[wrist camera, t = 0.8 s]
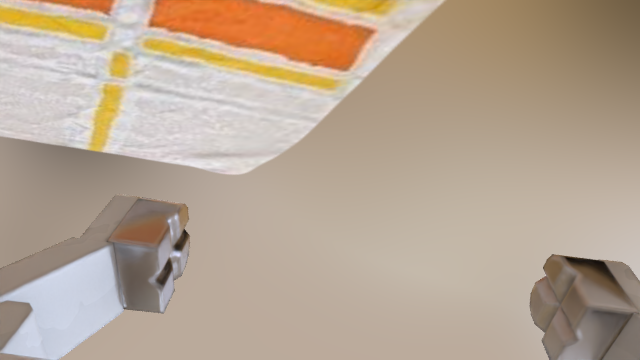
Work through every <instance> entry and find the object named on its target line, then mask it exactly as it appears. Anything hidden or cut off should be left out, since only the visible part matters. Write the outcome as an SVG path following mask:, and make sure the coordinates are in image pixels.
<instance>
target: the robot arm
mask: <svg viewBox="0 0 640 360" xmlns="http://www.w3.org/2000/svg"><path fill="white" fill-rule="evenodd" d="M188 220H189V216H188V207H187V206H186V205H185V204H182V203H175V202H168V201H163V200H156V199H150V198H143V197H142V198H140V197H135V196H129V195H122V194H119V195H116V196H114V197H113V198H112V200H111V201H110V202H109V203H108V204H107V206H106V207H105V208H104V210H102V212H101V213H100V214H99V215H98V216H97V218H96V219H95V220H94V221H93V222H92V224H91V225H90V226H89V227H88V229H87V230H86V231H85V232H84V233H83V235H82V236H81V237H80V238H75V237H72V238H70V239H67V240H65V241H63V242H61V243H58V244H56V245H54V246H51V247H49V248H47V249H44V250H42V251H40V252H37V253H35V254H33V255H30V256H28V257H26V258H23V259H21V260H19V261H16V262H14V263H12V264H9V265H7V266H5V267H2V268H0V360H59V359H60V358H61V357H63V356H64V355H66V354H67V353H68V352H69V351H71V350H72V349H74V348H75V347H76V346H78V345H79V344H80V343H82V342H83V341H84V340H86V339H87V338H88V337H90V336H91V335H92V334H94V333H95V332H96V331H98V330H99V329H100V328H102V327H103V326H105V325H106V324H107V323H109V322H110V321H111V320H112V319H114V318H115V317H117V316H118V315H119V314H121V313H122V312H123V311H124V310H123V309H127V310H137V311H146V312H154V313H164V311H165V309H166V307H167V305H168V303H169V301H170V299H171V297H172V295H173V293H174V290H175V289H174V280H176V279H177V278H179V277H181V276H182V274H183V271H184V269H185V267H186V263H187V259H188V256H189V247H190V236H189V234H188V233H187V232H186V230H185V229H184V228H185V226H186V224H187V222H188ZM543 269H544V271H545V274H546V276H545V277H544V278H542V279H540V280H539V281H537V282H536V283H535V285H534V287H533V290H532V292H531V297H530V311H531V316H532V318H533V321H534V324H535V325H536V326H538V327H539V328H540V329H541V330H542V331H543V332H545V334H544V336H543V338H542V343H543V345H544V348H545V350H546V353H547V355H548V357H549V360H640V281H639V280H638V278H637V277H636V276H635V274H634V273H633V271H632V270H631V269H630V267H629V266H628V265H626V264H624V263H623V262H616V261H608V260H592V259H584V258H577V257H569V256H562V255H554V254H552V255H551V256H550V257H549V258H548V259H547V261H546V263H545V265H544V267H543Z"/></svg>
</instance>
